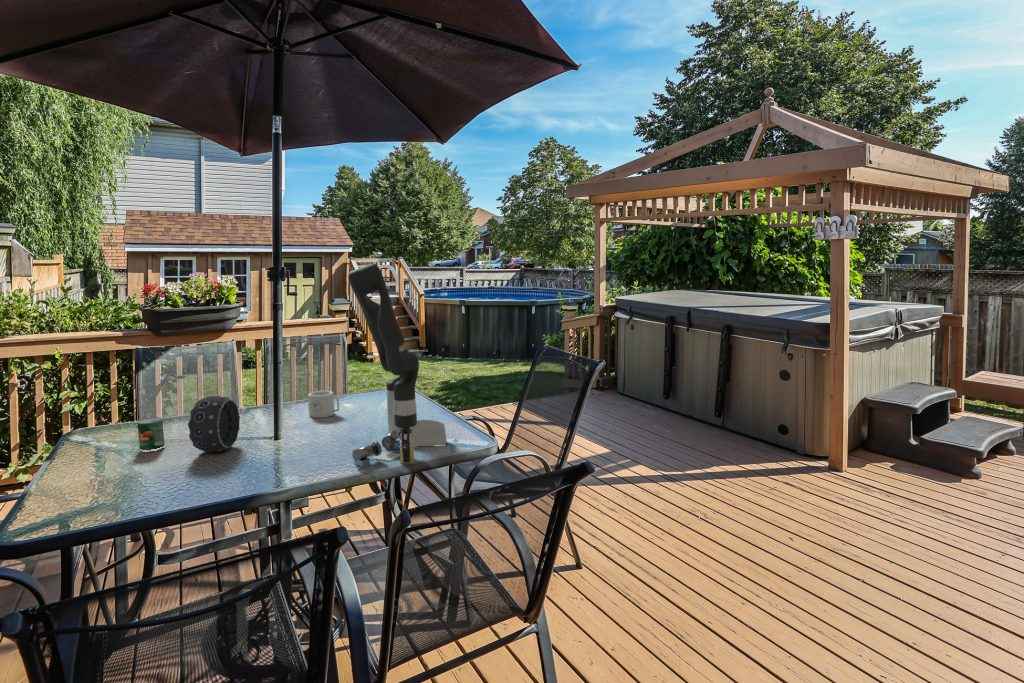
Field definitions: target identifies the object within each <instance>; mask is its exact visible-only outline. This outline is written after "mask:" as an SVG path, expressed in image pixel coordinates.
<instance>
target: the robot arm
mask: <svg viewBox="0 0 1024 683" xmlns="http://www.w3.org/2000/svg"><path fill="white" fill-rule="evenodd" d="M347 276H348V277H347V278H348V282H349V284H350V287H351V290H352V291H353V294H354V295H355V298H356V300H357V301H358V304H359V305H360V309H361V311H362V313H363V316H364V320H365V321H366V326H367V327H368V330H369V332H370V334H371V337H372V339H373V342H374V345H375V347H376V349H377V354H378V358H379V360H380V365H381V368H383V371H385V372H390V374H392V375H393V376H398V377H396V378H393V379H390V380H388V381H387V382H386V385H385V386H386V404H387V405H386V406H387V430H388V433H390V432H391V431H392V430H395V431H397V432H398V434H399V433H400V434H399V437H400V446H401V447H402V452H403V462H404V463H407V462H410V445H411V439H412V429H410V427H413V426H415V425H416V424H417V421H418V418H417V417H418V415H417V414H418V412H417V401H416V383H417V379H418V374H419V368H420V363H419V362H420V361H419V358H418V356H417V354H415V352H412V351H410V350H409V349H408V348H401V347H403V345H405V342H406V340H405V336H404V334H403V332H402V329H401V327H400V324H399V322H398V320H397V317H396V314H395V310H394V306H393V303H392V300H391V296H390V294H389V293H390V292H389V290H388V287H387V284H386V280H385V278H384V275H383V273H382V271H381V269H380V267H379V265H377V264H376V263H370V264H367V265H364V266H361V267H358V268H355V269H352V270H351V271H349V273H348V275H347ZM375 292H378V293H379V299H380V302H379V303H378V302H376V301H374V300H372V299H371V298H370V297H369V296H368V295H369V294H372V293H375ZM404 447H408V448H404ZM407 464H408V463H407Z"/></svg>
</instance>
